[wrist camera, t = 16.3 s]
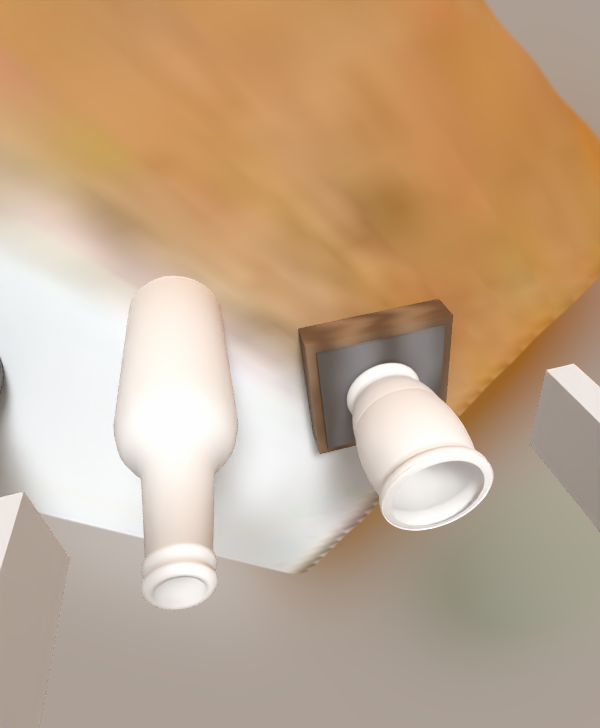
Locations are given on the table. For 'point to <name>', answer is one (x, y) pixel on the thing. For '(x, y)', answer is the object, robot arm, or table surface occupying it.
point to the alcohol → (176, 432)
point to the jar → (414, 450)
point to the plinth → (370, 360)
